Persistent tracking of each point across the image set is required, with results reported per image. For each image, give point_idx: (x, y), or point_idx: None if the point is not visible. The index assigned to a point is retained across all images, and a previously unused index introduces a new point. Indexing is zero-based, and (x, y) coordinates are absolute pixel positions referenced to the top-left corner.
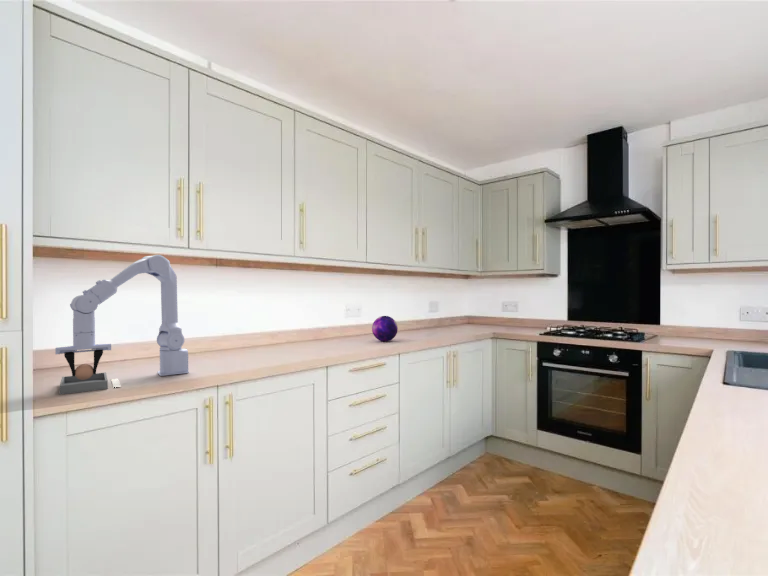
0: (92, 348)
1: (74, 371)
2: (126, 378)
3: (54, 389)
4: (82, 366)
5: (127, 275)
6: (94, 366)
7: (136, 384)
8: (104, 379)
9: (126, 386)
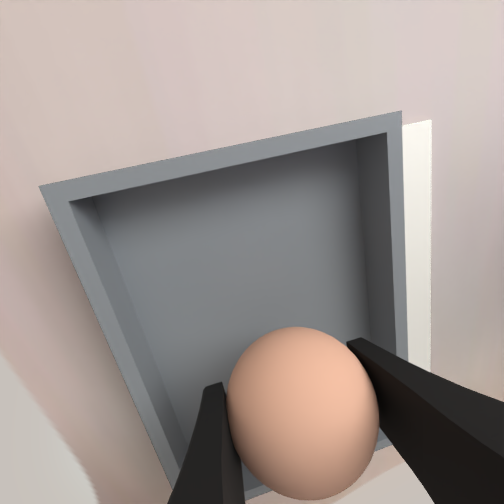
0: None
1: (239, 470)
2: (473, 129)
3: (94, 337)
4: (316, 499)
5: None
6: (404, 450)
7: (489, 341)
8: (376, 277)
9: (449, 371)
